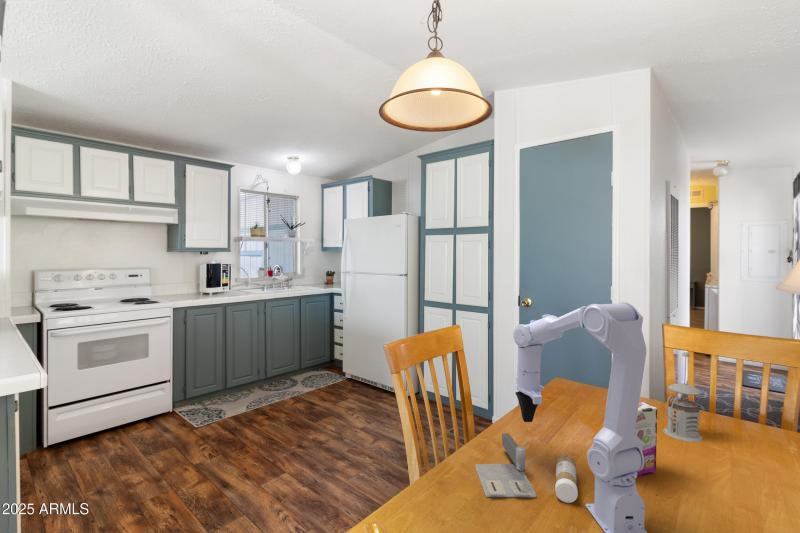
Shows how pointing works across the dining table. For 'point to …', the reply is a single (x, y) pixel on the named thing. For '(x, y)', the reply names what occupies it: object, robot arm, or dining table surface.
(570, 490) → the sprinkles bottle
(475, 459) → the dining table surface
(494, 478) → the chassis plate
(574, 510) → the dining table surface
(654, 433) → the candy bar box
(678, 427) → the french press
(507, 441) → the grey knobbed handle
